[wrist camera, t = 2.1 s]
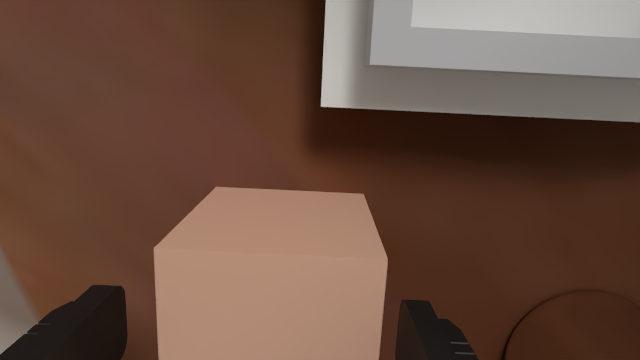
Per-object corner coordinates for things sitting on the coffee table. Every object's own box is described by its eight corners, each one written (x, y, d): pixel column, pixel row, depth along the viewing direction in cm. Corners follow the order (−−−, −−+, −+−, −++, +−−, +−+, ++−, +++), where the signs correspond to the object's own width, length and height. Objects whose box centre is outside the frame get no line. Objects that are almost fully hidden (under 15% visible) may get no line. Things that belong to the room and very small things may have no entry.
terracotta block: (363, 193, 16) (388, 259, 10) (353, 324, 17) (370, 452, 11) (216, 186, 16) (153, 248, 10) (217, 318, 17) (162, 443, 11)
